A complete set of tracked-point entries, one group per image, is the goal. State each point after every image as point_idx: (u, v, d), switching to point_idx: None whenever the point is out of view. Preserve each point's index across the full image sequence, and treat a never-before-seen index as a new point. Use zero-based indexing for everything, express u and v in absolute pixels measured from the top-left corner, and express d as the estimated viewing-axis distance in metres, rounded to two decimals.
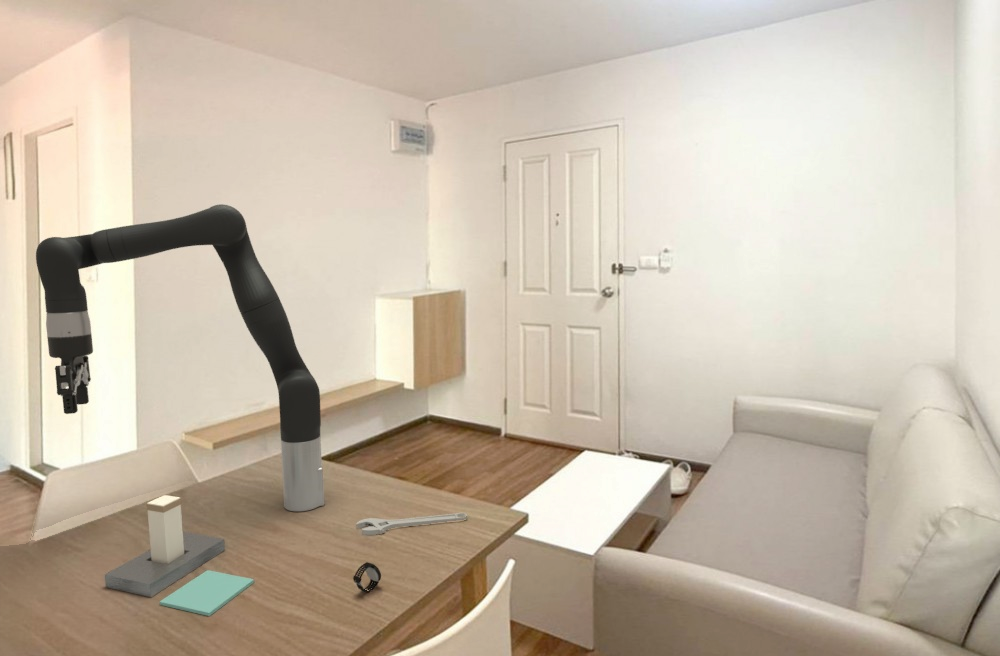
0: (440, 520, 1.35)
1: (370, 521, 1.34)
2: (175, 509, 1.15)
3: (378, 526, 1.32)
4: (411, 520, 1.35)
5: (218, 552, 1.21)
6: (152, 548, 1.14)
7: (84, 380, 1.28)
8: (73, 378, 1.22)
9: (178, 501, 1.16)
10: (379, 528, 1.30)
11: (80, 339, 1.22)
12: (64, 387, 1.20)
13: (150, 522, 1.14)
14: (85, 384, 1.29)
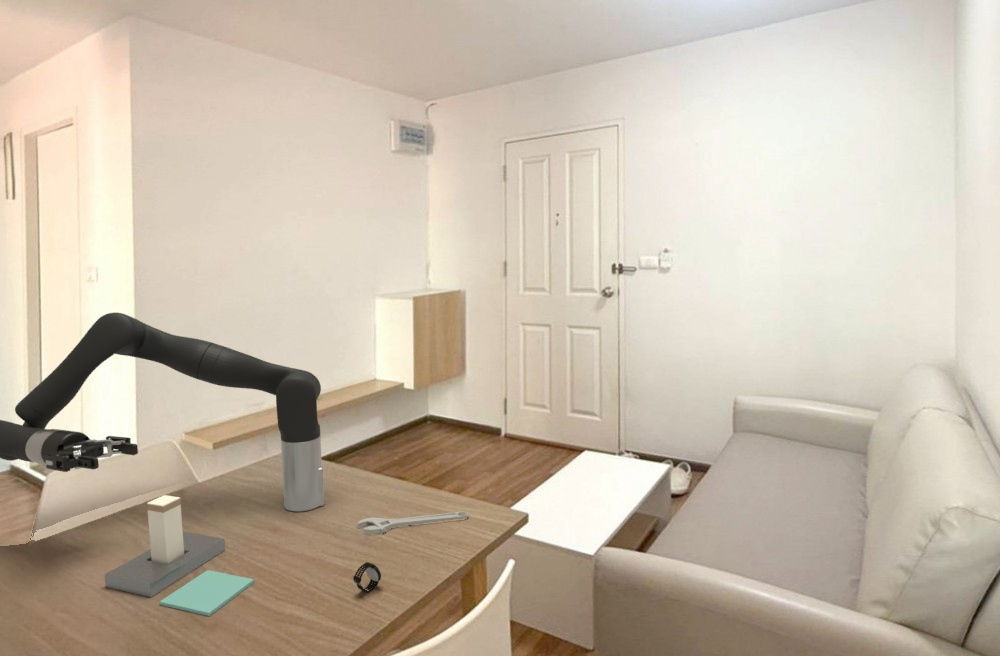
0: (441, 519, 1.36)
1: (371, 520, 1.34)
2: (174, 510, 1.15)
3: (379, 525, 1.32)
4: (412, 519, 1.35)
5: (218, 552, 1.21)
6: (152, 548, 1.14)
7: (111, 444, 1.22)
8: None
9: (178, 501, 1.16)
10: (381, 527, 1.31)
11: (47, 441, 1.19)
12: None
13: (150, 522, 1.14)
14: (119, 443, 1.22)
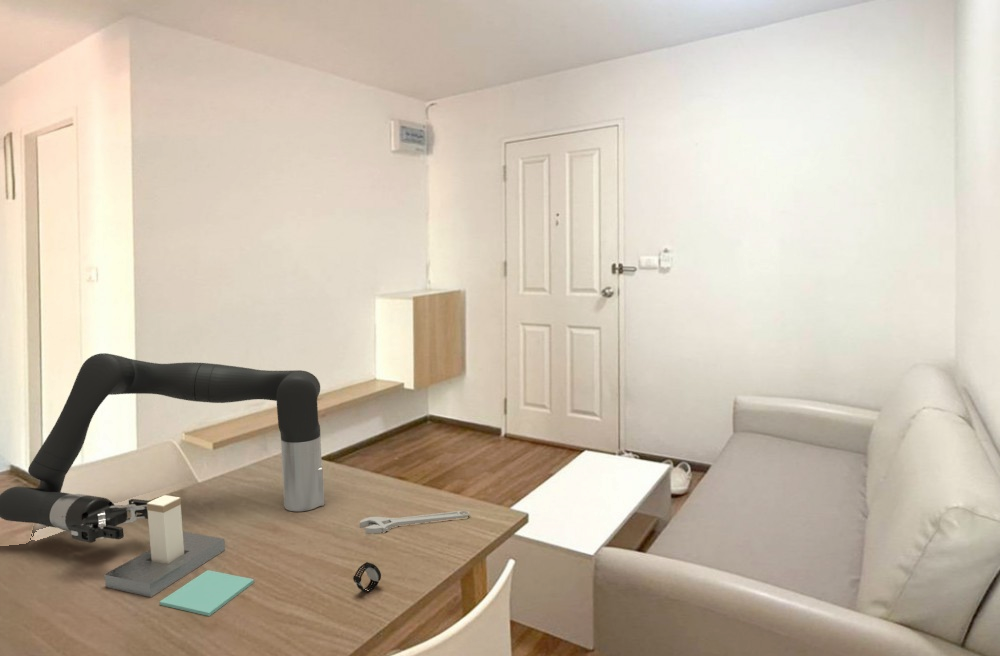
0: (443, 518, 1.36)
1: (373, 519, 1.34)
2: (174, 510, 1.15)
3: (381, 524, 1.32)
4: (414, 518, 1.36)
5: (218, 552, 1.21)
6: (152, 548, 1.14)
7: (135, 509, 1.22)
8: None
9: (178, 501, 1.16)
10: (383, 526, 1.31)
11: (71, 508, 1.19)
12: None
13: (150, 522, 1.14)
14: (142, 508, 1.22)
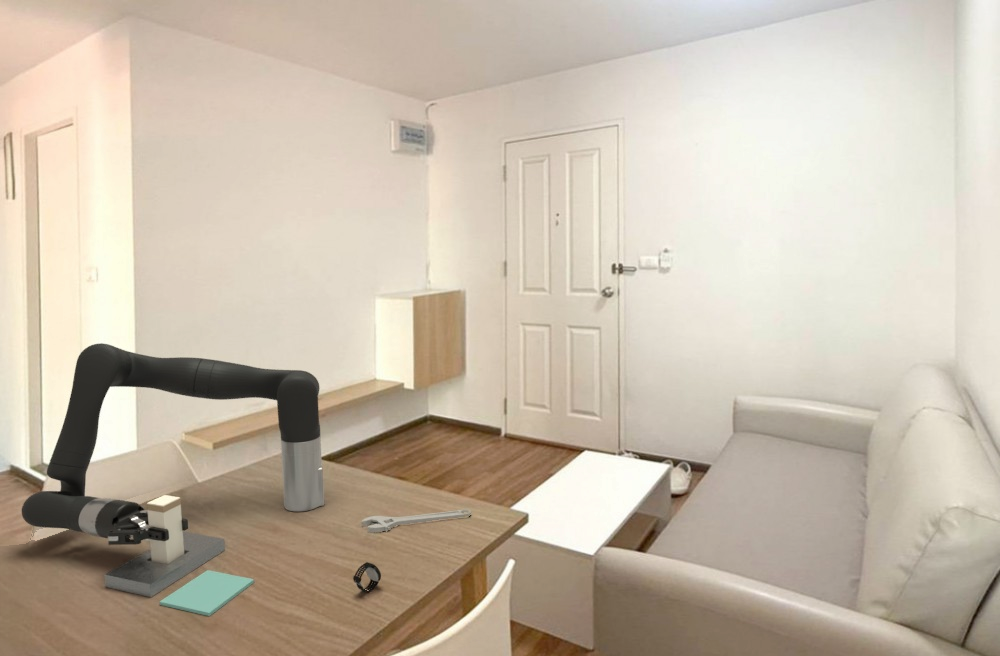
0: (444, 517, 1.37)
1: (375, 519, 1.35)
2: (175, 509, 1.15)
3: (383, 523, 1.33)
4: (416, 517, 1.36)
5: (218, 552, 1.21)
6: (152, 548, 1.14)
7: None
8: (134, 527, 1.14)
9: (178, 501, 1.16)
10: (385, 525, 1.32)
11: (101, 513, 1.16)
12: None
13: (150, 522, 1.14)
14: None
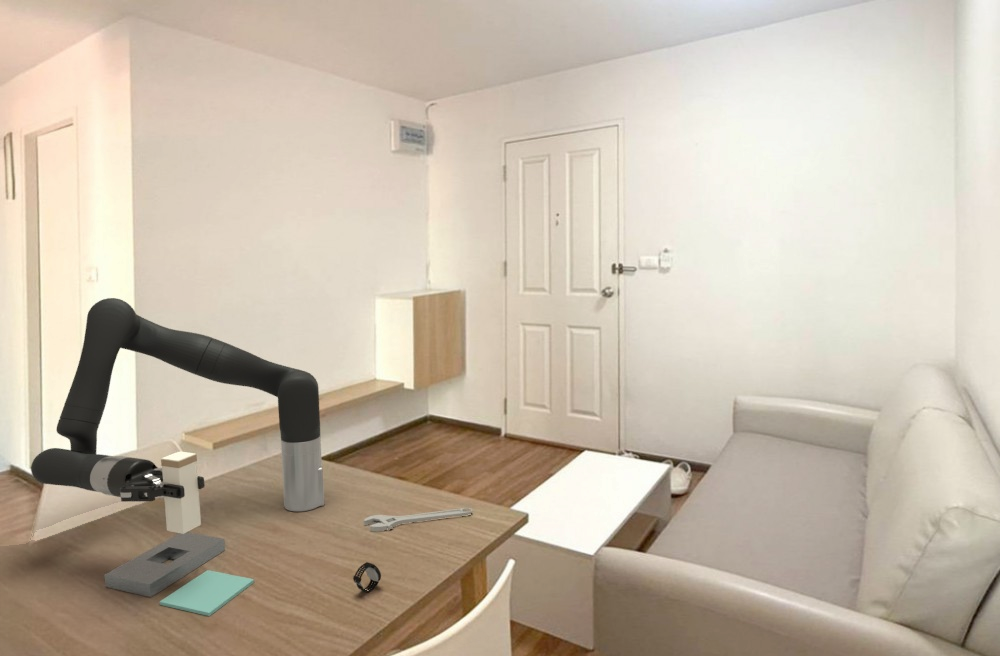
0: (446, 515, 1.37)
1: (377, 518, 1.35)
2: (190, 466, 1.09)
3: (385, 522, 1.33)
4: (418, 516, 1.37)
5: (218, 552, 1.21)
6: (167, 506, 1.08)
7: None
8: (148, 484, 1.08)
9: (194, 458, 1.09)
10: (387, 524, 1.32)
11: (113, 470, 1.11)
12: None
13: (165, 478, 1.08)
14: None
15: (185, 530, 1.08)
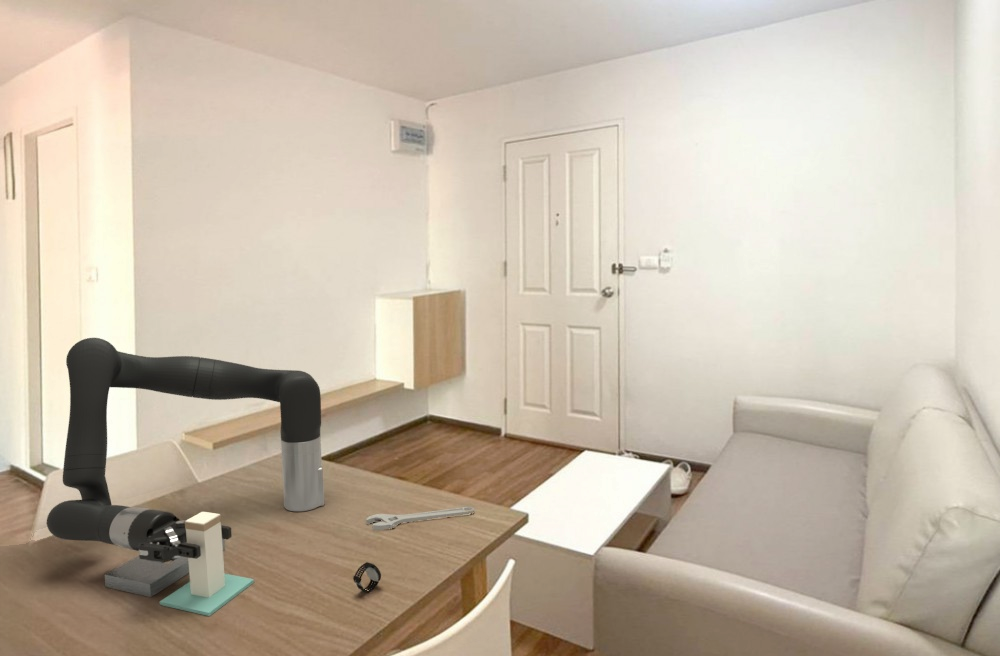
0: (448, 514, 1.38)
1: (380, 517, 1.36)
2: (215, 527, 1.06)
3: (388, 521, 1.34)
4: (420, 515, 1.37)
5: None
6: (191, 570, 1.05)
7: None
8: None
9: (218, 518, 1.07)
10: (390, 523, 1.33)
11: (134, 524, 1.07)
12: None
13: (189, 541, 1.05)
14: None
15: (210, 593, 1.05)
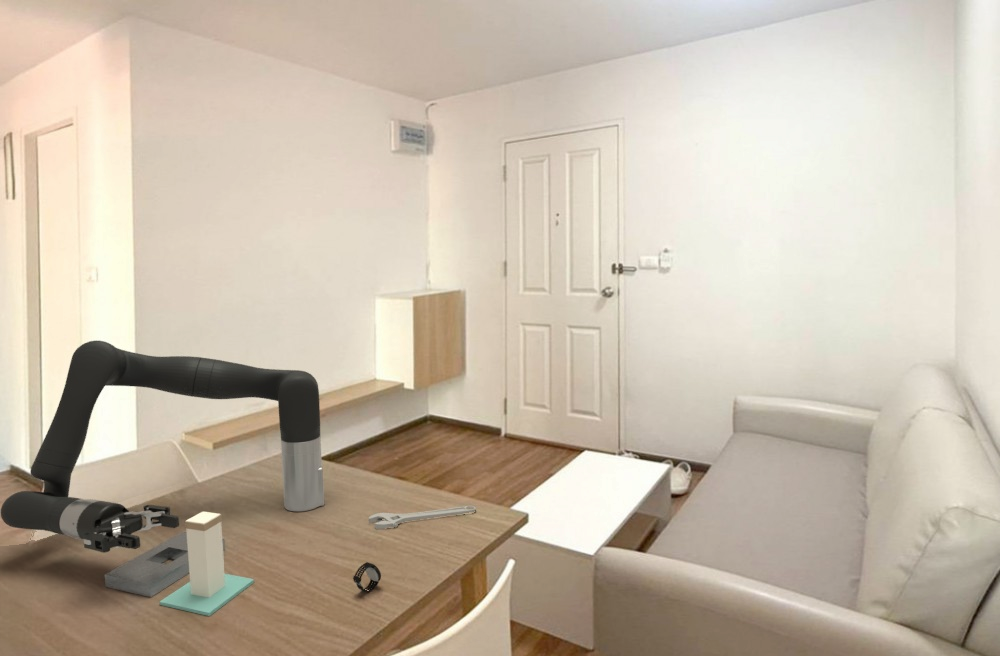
0: (450, 513, 1.39)
1: (382, 516, 1.36)
2: (215, 527, 1.06)
3: (390, 520, 1.34)
4: (422, 514, 1.38)
5: None
6: (191, 570, 1.05)
7: (151, 515, 1.14)
8: None
9: (219, 518, 1.07)
10: (392, 522, 1.33)
11: (83, 515, 1.11)
12: None
13: (189, 541, 1.05)
14: (159, 515, 1.14)
15: (210, 593, 1.05)
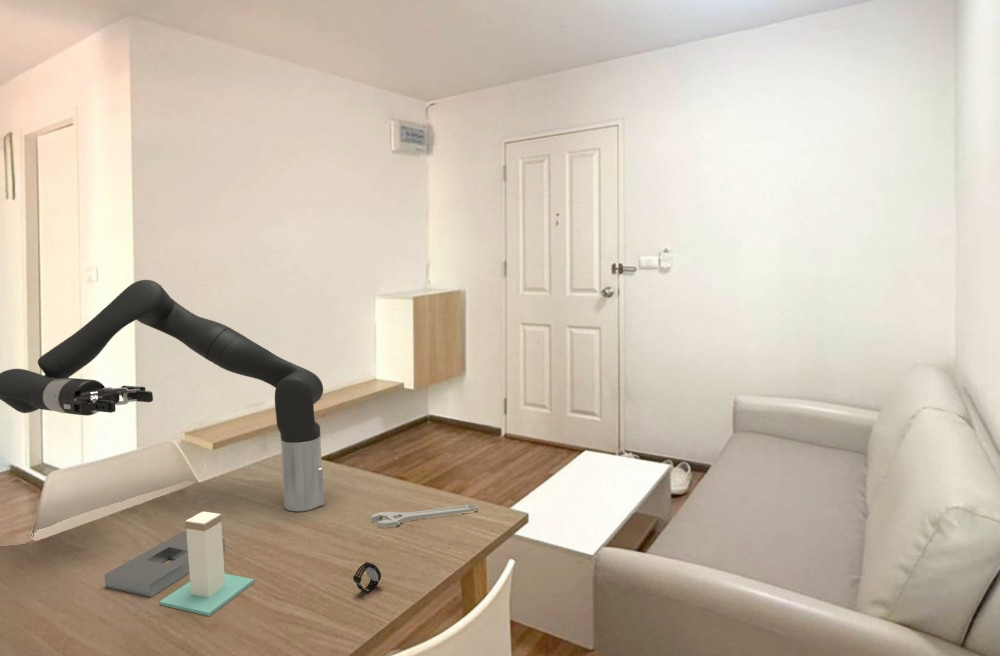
0: (452, 512, 1.39)
1: (384, 514, 1.37)
2: (215, 527, 1.06)
3: (392, 518, 1.35)
4: (424, 512, 1.39)
5: None
6: (191, 570, 1.05)
7: (127, 391, 1.24)
8: None
9: (219, 518, 1.07)
10: (394, 521, 1.34)
11: (64, 387, 1.21)
12: None
13: (189, 541, 1.05)
14: (134, 391, 1.24)
15: (210, 593, 1.05)
